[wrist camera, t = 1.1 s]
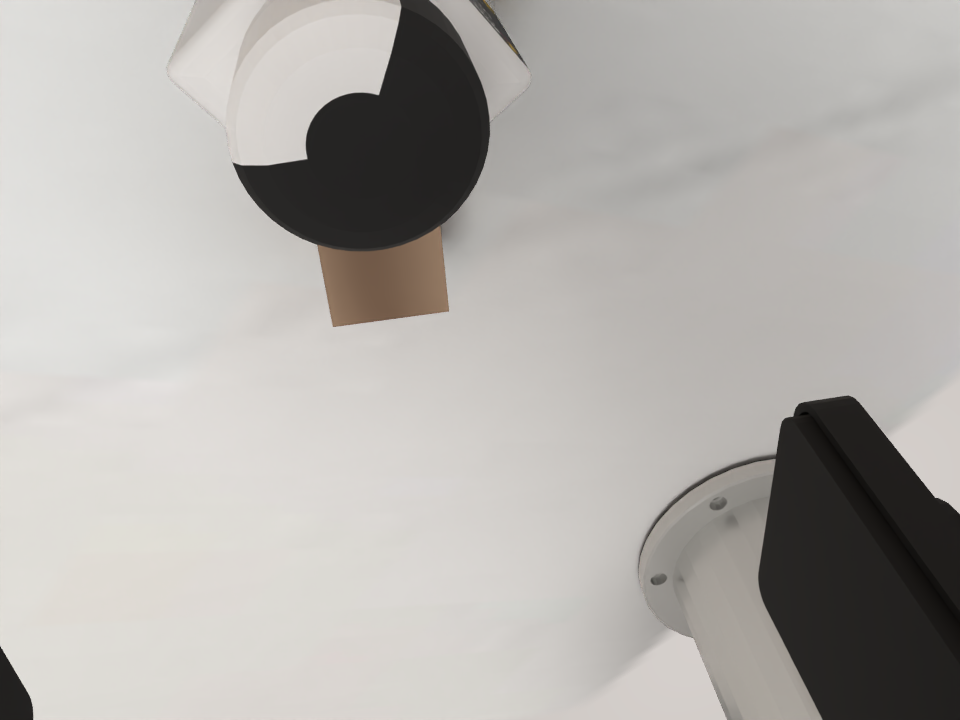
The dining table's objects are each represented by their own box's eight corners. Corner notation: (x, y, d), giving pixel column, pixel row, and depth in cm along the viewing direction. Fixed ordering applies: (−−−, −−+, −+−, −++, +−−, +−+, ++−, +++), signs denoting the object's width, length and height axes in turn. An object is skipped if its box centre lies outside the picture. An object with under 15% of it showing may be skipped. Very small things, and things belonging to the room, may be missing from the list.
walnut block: (423, 147, 33) (438, 205, 29) (433, 244, 36) (449, 311, 32) (313, 160, 33) (312, 221, 29) (331, 257, 35) (333, 326, 31)
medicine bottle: (498, 15, 31) (580, 149, 21) (349, 156, 33) (363, 336, 23) (345, -164, 28) (360, -102, 18) (189, 6, 30) (126, 145, 20)
